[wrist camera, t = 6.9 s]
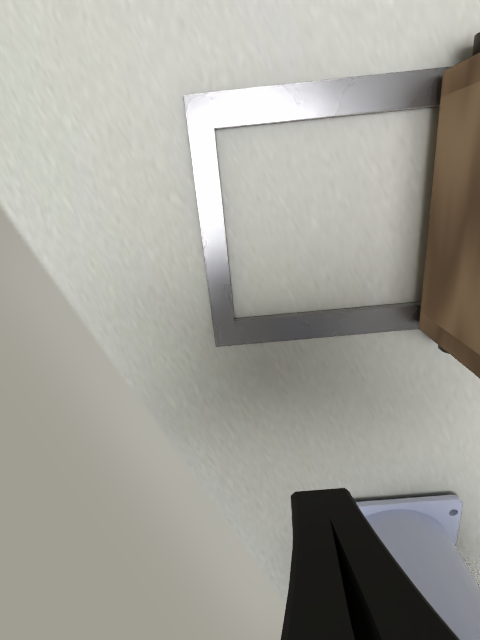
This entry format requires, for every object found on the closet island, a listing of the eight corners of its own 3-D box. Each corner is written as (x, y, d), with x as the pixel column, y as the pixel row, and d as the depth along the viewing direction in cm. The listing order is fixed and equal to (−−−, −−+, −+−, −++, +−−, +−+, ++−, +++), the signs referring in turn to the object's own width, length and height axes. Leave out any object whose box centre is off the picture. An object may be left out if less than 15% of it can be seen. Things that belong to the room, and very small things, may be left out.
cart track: (680, 302, 17) (690, 305, 17) (216, 343, 18) (215, 346, 17) (778, 34, 13) (794, 30, 13) (184, 96, 14) (183, 95, 13)
